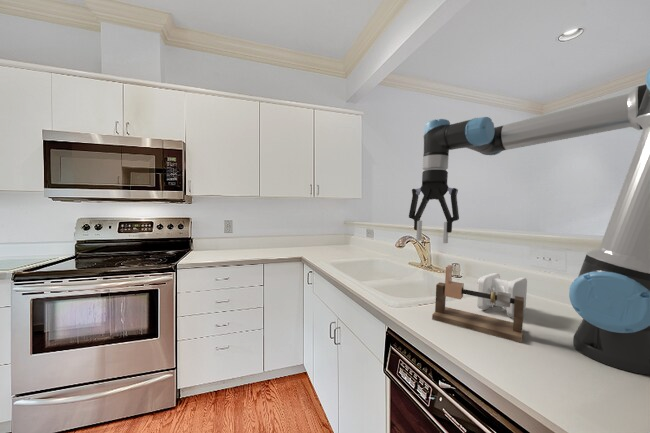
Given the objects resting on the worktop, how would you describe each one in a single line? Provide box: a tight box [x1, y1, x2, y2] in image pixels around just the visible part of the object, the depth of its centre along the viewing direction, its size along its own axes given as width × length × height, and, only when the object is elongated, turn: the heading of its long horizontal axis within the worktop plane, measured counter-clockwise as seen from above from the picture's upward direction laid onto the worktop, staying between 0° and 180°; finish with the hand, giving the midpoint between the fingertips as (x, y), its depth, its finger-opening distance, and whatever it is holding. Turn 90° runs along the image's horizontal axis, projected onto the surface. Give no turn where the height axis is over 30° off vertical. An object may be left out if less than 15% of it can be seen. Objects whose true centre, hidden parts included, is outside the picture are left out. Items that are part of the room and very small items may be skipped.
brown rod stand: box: [431, 281, 524, 344], centre depth 79 cm, size 22×10×10 cm, turn 53°
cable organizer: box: [477, 272, 528, 319], centre depth 91 cm, size 15×11×12 cm
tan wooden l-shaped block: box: [444, 264, 465, 300], centre depth 83 cm, size 4×4×9 cm
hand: (431, 241), depth 87 cm, fingers open, 8 cm apart
